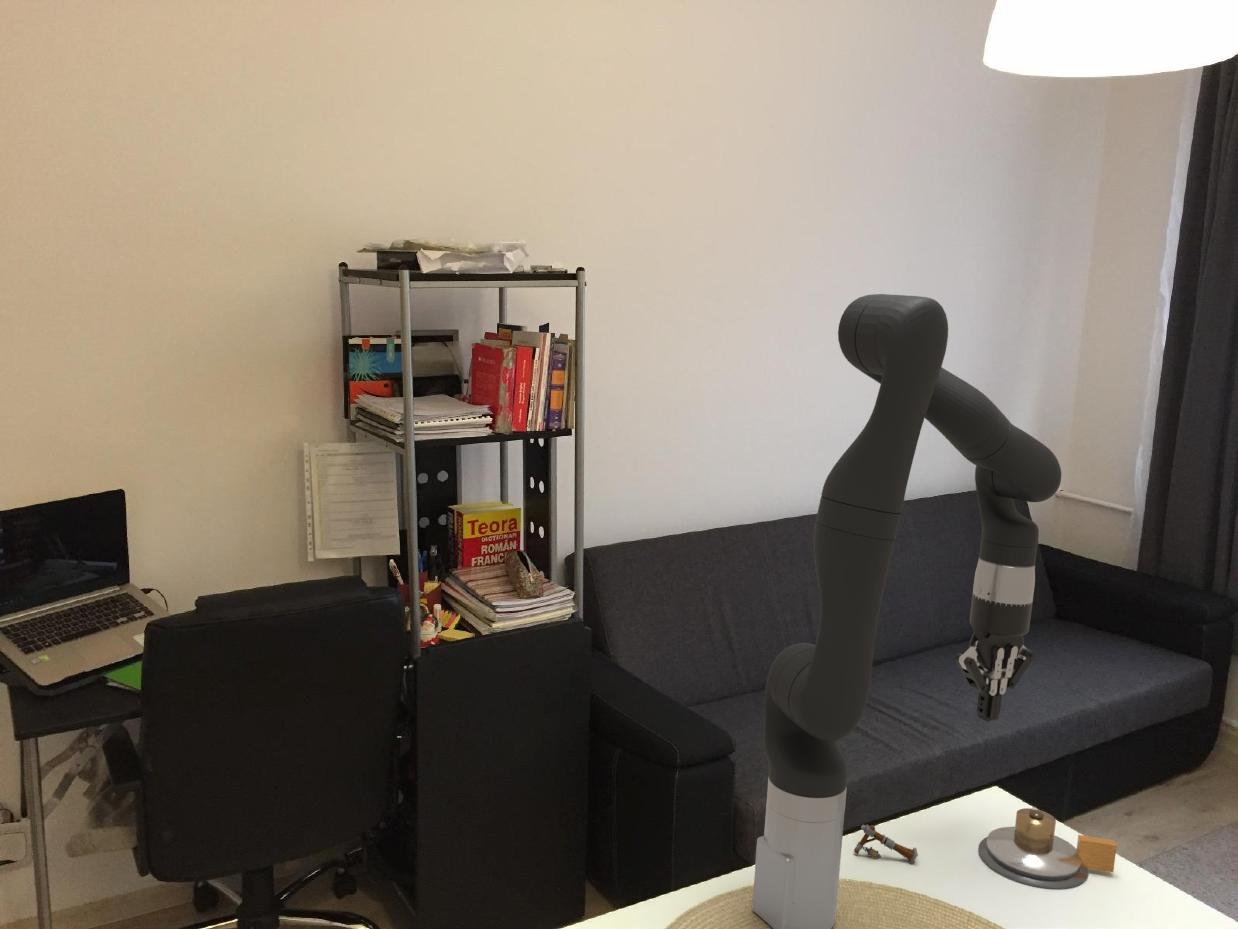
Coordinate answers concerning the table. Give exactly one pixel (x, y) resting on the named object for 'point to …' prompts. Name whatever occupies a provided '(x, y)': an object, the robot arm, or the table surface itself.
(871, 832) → the toy blunderbuss
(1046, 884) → the base plate
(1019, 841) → the cover
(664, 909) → the table surface
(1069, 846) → the silver disc with handle
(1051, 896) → the table surface
